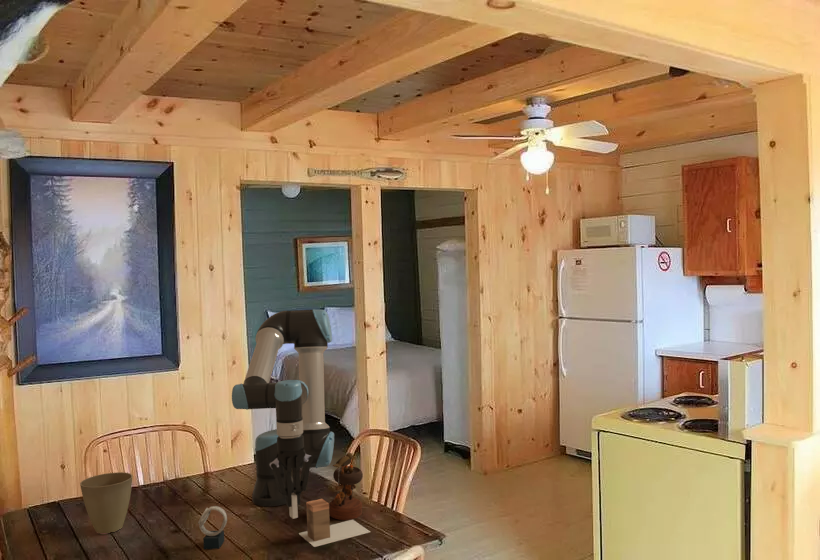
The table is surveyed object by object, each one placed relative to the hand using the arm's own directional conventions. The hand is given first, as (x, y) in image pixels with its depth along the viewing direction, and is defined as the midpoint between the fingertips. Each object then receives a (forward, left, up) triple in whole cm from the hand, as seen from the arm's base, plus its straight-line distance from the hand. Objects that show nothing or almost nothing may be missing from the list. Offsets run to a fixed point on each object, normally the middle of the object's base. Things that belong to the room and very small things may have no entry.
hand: (293, 516), depth 196 cm
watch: (-13, -20, -8) cm, 25 cm away
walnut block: (0, +7, -8) cm, 11 cm away
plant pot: (-45, -44, -8) cm, 63 cm away
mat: (0, +12, -8) cm, 15 cm away
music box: (-12, +22, -8) cm, 27 cm away
